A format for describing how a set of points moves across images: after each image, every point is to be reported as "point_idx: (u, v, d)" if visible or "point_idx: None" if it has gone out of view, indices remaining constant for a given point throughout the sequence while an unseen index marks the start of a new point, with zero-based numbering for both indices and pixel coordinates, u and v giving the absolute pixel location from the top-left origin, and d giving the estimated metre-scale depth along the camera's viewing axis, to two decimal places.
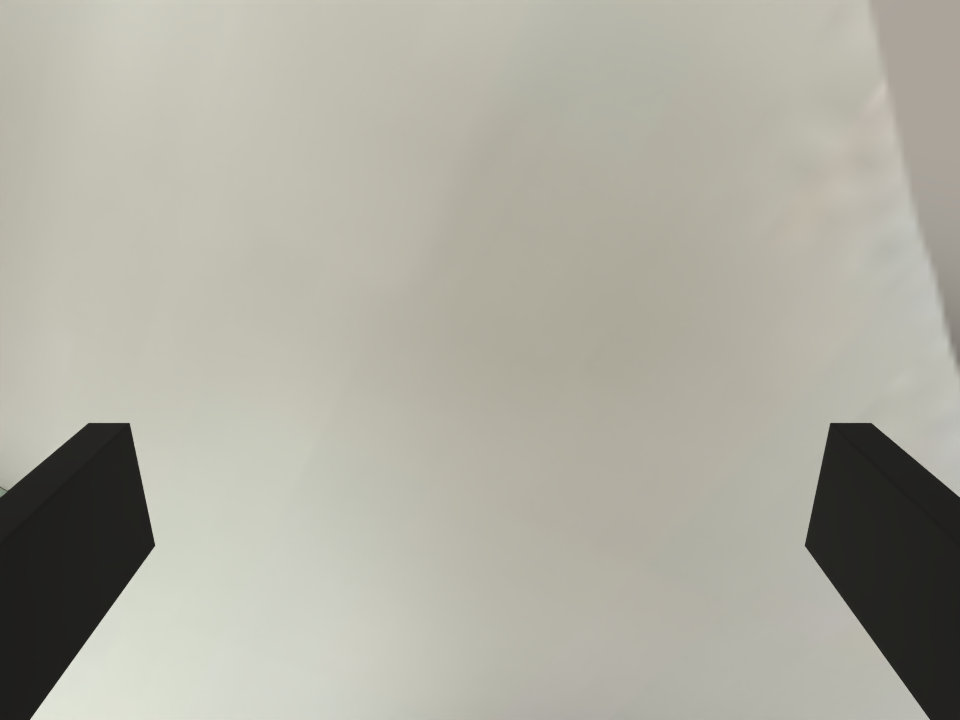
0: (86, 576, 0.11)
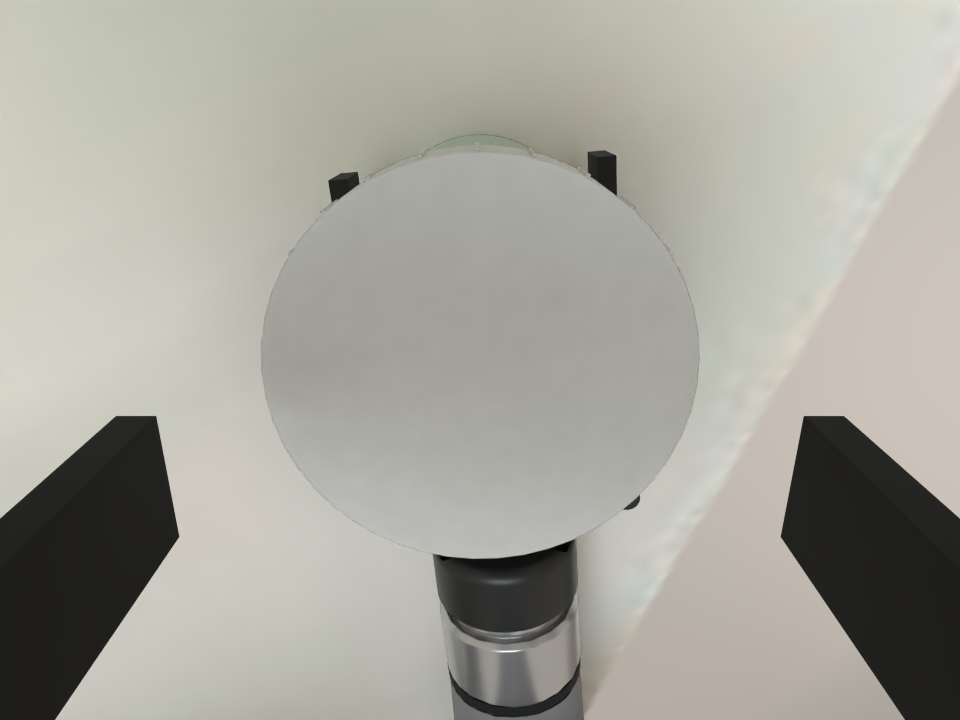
0: (117, 564, 0.11)
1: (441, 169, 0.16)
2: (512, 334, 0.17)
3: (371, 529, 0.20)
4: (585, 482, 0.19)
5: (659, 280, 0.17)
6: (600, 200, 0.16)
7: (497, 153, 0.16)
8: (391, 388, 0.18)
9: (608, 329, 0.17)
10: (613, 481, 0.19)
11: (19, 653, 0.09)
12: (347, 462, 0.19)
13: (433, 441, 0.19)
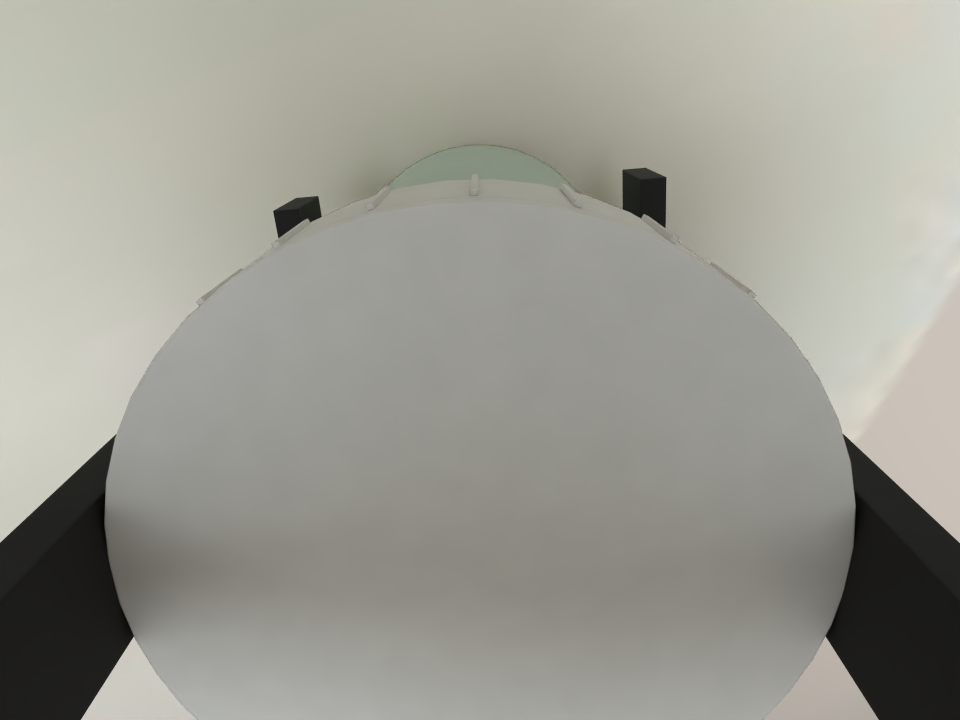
0: None
1: (408, 232, 0.09)
2: (535, 508, 0.10)
3: None
4: None
5: (795, 421, 0.10)
6: (699, 287, 0.09)
7: (511, 203, 0.09)
8: (330, 590, 0.11)
9: (701, 499, 0.10)
10: None
11: (59, 638, 0.09)
12: (262, 696, 0.11)
13: (402, 666, 0.11)
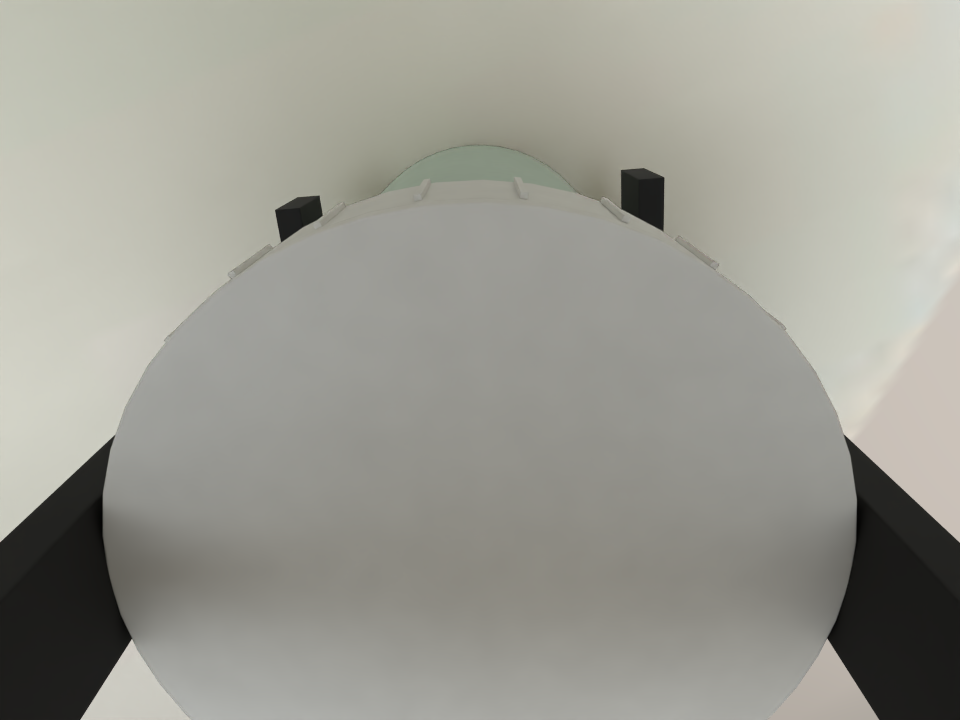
0: None
1: (125, 560, 0.10)
2: (410, 519, 0.10)
3: None
4: (740, 457, 0.10)
5: (358, 263, 0.09)
6: (194, 343, 0.09)
7: None
8: (462, 693, 0.11)
9: (436, 368, 0.09)
10: (759, 408, 0.09)
11: (58, 638, 0.09)
12: None
13: (570, 661, 0.11)
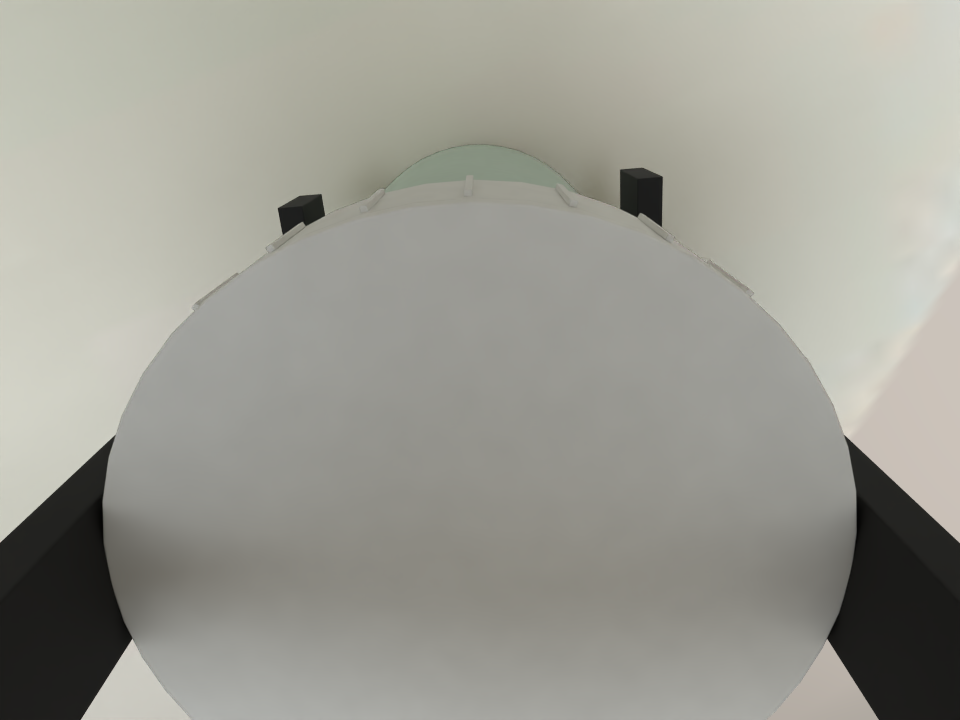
0: None
1: None
2: (397, 617, 0.11)
3: (831, 417, 0.10)
4: (388, 325, 0.09)
5: (148, 597, 0.11)
6: (206, 713, 0.12)
7: None
8: (618, 621, 0.11)
9: (248, 565, 0.10)
10: (333, 300, 0.09)
11: (59, 638, 0.09)
12: (770, 549, 0.10)
13: (611, 521, 0.10)
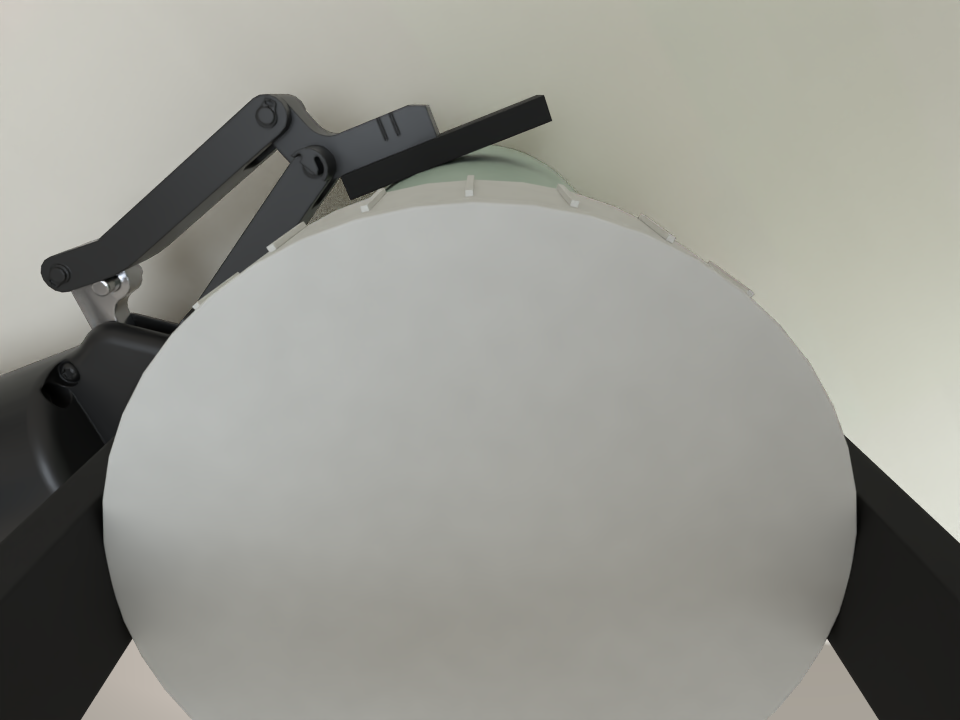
0: None
1: None
2: (397, 616, 0.11)
3: (831, 418, 0.10)
4: (389, 324, 0.09)
5: (148, 596, 0.11)
6: (205, 713, 0.12)
7: None
8: (618, 621, 0.11)
9: (248, 564, 0.10)
10: (334, 300, 0.09)
11: (59, 638, 0.09)
12: (769, 549, 0.10)
13: (610, 521, 0.10)
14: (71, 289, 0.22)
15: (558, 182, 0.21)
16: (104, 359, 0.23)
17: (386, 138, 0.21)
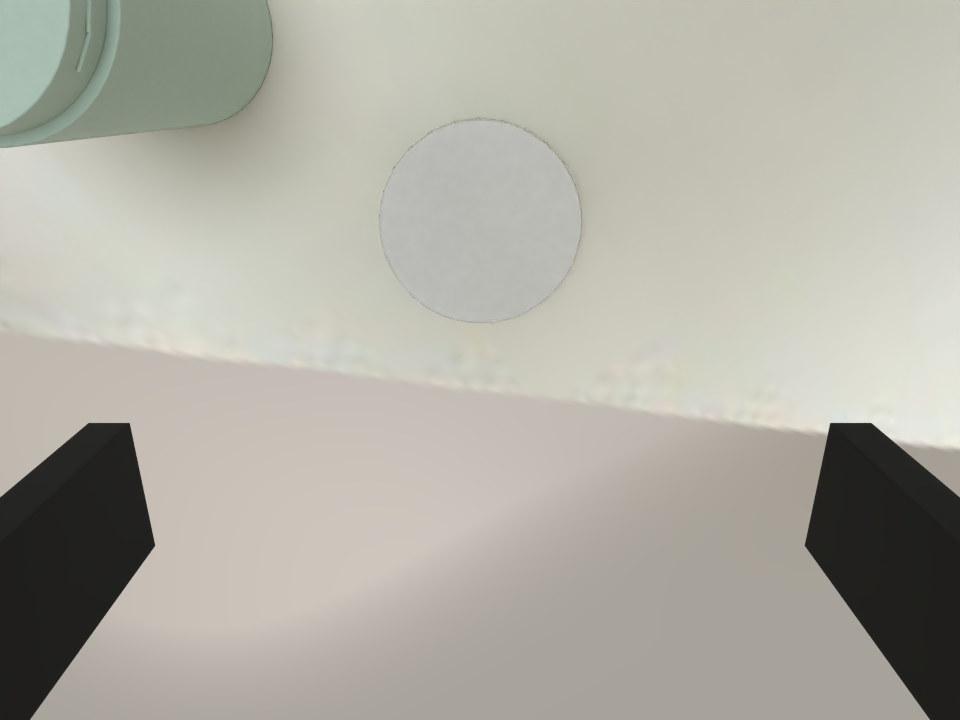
0: (86, 576, 0.11)
1: (453, 314, 0.41)
2: (457, 240, 0.39)
3: (569, 176, 0.38)
4: (458, 151, 0.37)
5: (389, 233, 0.39)
6: (400, 275, 0.40)
7: (431, 309, 0.40)
8: (519, 241, 0.39)
9: (417, 222, 0.39)
10: (445, 144, 0.37)
11: None
12: (558, 217, 0.38)
13: (515, 208, 0.38)
14: None
15: None
16: None
17: None
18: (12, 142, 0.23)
